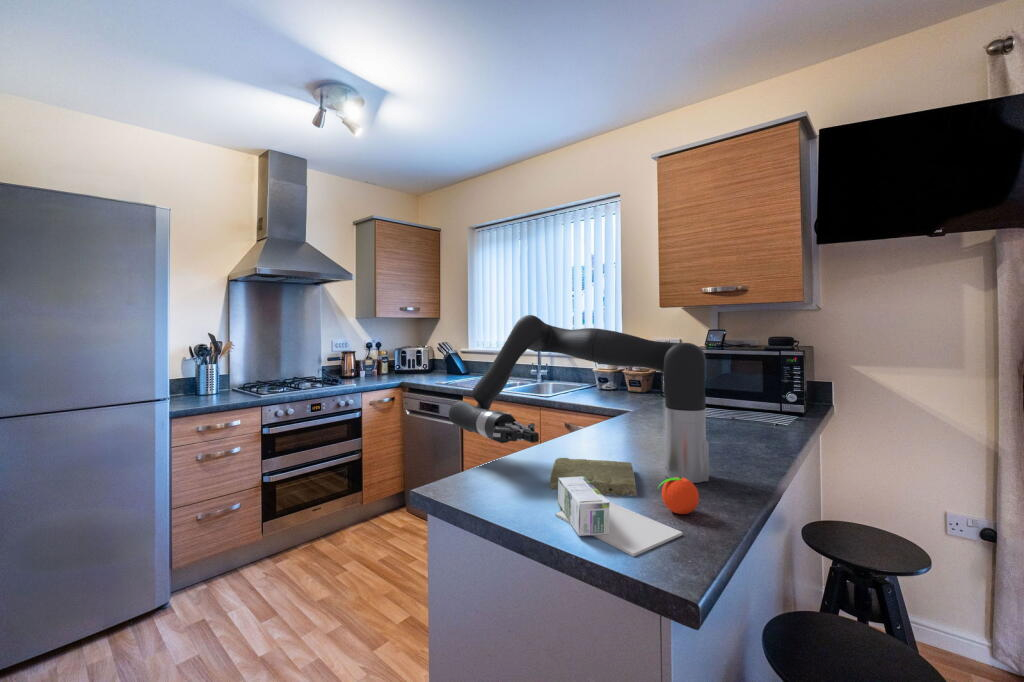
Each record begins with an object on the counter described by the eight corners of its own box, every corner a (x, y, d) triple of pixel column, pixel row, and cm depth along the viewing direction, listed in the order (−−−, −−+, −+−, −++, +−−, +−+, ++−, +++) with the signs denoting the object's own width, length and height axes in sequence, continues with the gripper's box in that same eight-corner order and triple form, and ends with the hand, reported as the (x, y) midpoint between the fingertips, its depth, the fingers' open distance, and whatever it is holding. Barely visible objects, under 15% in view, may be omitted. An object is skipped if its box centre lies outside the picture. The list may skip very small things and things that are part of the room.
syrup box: (583, 503, 89) (611, 534, 75) (556, 504, 88) (579, 537, 74) (584, 475, 89) (611, 501, 75) (556, 477, 88) (579, 504, 74)
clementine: (663, 520, 81) (663, 483, 81) (651, 506, 88) (651, 471, 88) (705, 520, 82) (705, 482, 81) (690, 505, 88) (690, 471, 88)
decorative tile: (555, 468, 116) (555, 455, 116) (632, 472, 111) (632, 459, 111) (546, 493, 97) (546, 477, 97) (638, 499, 93) (638, 483, 93)
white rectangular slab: (555, 515, 84) (555, 513, 84) (602, 501, 91) (602, 498, 91) (633, 556, 68) (633, 553, 68) (682, 535, 75) (682, 532, 75)
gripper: (474, 414, 110) (512, 425, 95) (516, 409, 117) (557, 418, 103) (474, 443, 110) (512, 459, 95) (516, 436, 117) (558, 449, 103)
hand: (536, 438), depth 99 cm, fingers closed
